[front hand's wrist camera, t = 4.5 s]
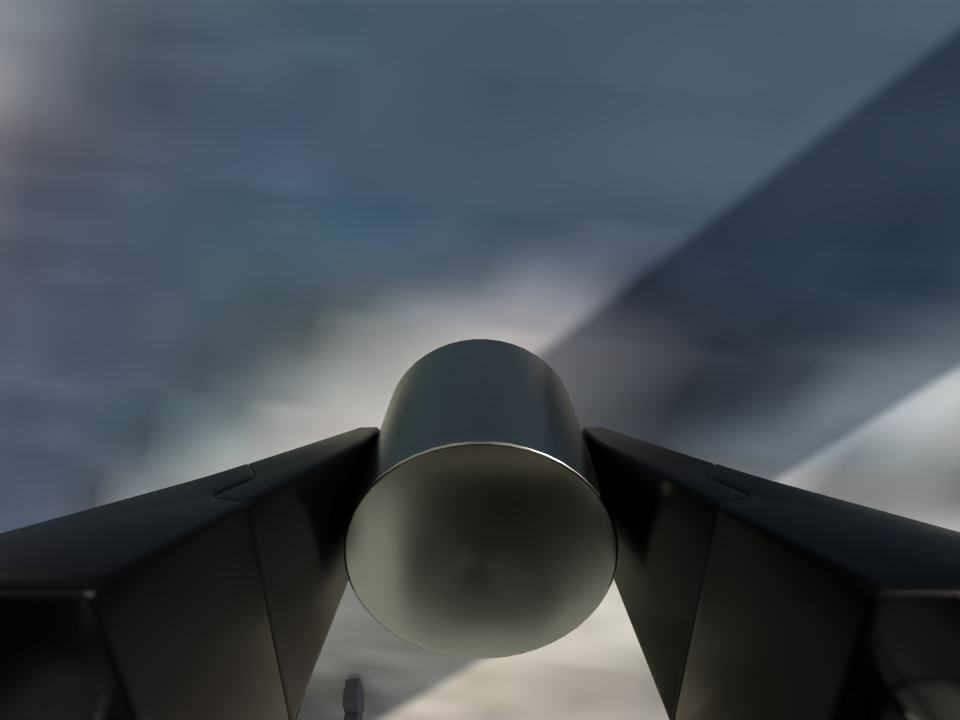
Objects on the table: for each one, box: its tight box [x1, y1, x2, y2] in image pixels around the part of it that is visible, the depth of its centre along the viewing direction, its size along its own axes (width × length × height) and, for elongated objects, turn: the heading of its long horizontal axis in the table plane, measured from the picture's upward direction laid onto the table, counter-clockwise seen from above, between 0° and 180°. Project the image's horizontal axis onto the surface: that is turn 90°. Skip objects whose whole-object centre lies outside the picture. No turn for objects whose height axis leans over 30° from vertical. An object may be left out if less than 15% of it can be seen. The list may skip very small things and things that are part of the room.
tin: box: [343, 339, 618, 658], centre depth 10 cm, size 4×4×4 cm
